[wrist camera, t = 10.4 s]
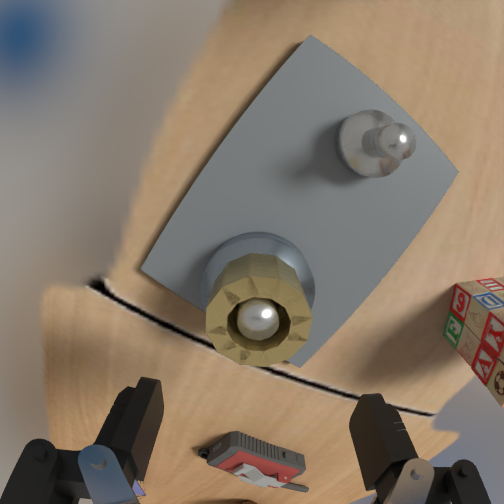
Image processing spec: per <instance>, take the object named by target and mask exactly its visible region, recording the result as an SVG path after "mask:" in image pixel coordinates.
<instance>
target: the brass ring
mask: <svg viewBox="0 0 504 504" xmlns="http://www.w3.org/2000/svg"><path fill="white" fill-rule="evenodd" d="M252 297H258V298H269V299H272V300H274V301H275V302H277V303H279V304H280V305H281V306H280V308H279V309H278V317H279V327H278V329H277V331H276V332H275V333H274V334H273V335H272V336H271V337H269V338H267V339H264V340H253V339H249V338H247V337H245V336H244V335H243V334H242V333H241V332H240V330H239V328H238V324H237V321H238V310H237V309H236V307H235V306H236V304H237V303H240V302H242V301H245V300H247V299H250V298H252ZM312 319H313V316H312V313H311V310H310V307H309V304H308V301H307V299H306V296H305V293H304V290H303V288H302V286H301V283H300V281H299V279H298V276H297V274H296V271H295V269H294V268H293V267H291V266H290V265H288V264H287V263H286V262H284V261H283V260H281V259H280V258H278V257H277V256H276V255H268V254H258V253H249V254H247V255H244V256H242V257H239V258H237V259H235V260H232V261H230V262H228V263H227V265H226V266H225V268H224V269H223V270H222V272H221V273H220V274H219V276H218V277H217V278H216V280H215V282H214V285H213V288H212V291H211V294H210V297H209V301H208V304H207V307H206V330H205V332H206V334H207V335H208V337H209V339H210V340H211V342H212V343H213V345H214V347H215V348H216V350H217V351H218V353H220V354H222V355H224V356H225V357H227V358H229V359H231V360H233V361H234V362H236V363H238V364H239V365H249V366H262V367H267V366H270V365H273V364H276V363H278V362H281V361H284V360H287V359H290V358H291V357H292V356H293V355H294V354H295V353H296V352H297V351H298V350H299V349H300V348H301V347H302V346H303V345H304V344H305V343H306V342H307V341H308V336H309V332H310V328H311V323H312Z"/></svg>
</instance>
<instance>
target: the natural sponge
mask: <svg viewBox="0 0 504 504" xmlns="http://www.w3.org/2000/svg"><path fill="white" fill-rule="evenodd" d="M241 504H257V503H254V502H251V501H246V502H243V503H241Z"/></svg>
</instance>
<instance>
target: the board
mask: <svg viewBox="0 0 504 504" xmlns="http://www.w3.org/2000/svg"><path fill="white" fill-rule="evenodd" d="M370 109H371V110H378V111H381V112H384V113H386V114H387V115H389V116H390V117H391V118H393V119H394V120H395V122H396V123H402V124H405V125H407V126H408V127H409V128H410V129H411V130H412V131H413V133H414V135H415V138H416V148H415V151H414V153H413V154H412V155H411V156H410V157H409V158H406V159H403V160H402V162H401V164H400V166H399V167H398V168H397V169H396V170H395V171H394V172H393V173H391V174H390V175H388V176H385V177H380V178H374V177H368V176H362V175H358V174H355V173H353V172H351V171H350V170H348V169H347V168H346V167H345V166H344V165H343V164H342V163H341V161H340V159H339V158H338V156H337V153H336V149H335V134H336V131H337V129H338V127H339V125H340V124H341V122H342V121H343V120H344V119H346V118H347V117H349V116H351V115H353V114H356V113H358V112H360V111H363V110H370ZM458 173H459V171H458V170H457V169H456V167H455V166H454V165H453V164H452V162H451V161H450V160H449V159H448V157H447V156H446V155H445V154H444V153H443V151H442V150H441V149H440V148H439V147H438V146H437V144H436V143H435V142H434V141H433V140H432V139H431V138H430V137H429V135H428V134H427V133H426V132H425V131H424V130H423V129H422V128H421V127H420V126H419V125H418V124H417V123H416V122H415V120H414V119H413V118H412V117H411V116H410V115H409V114H408V113H407V112H406V111H405V110H404V109H403V108H402V107H401V106H399V105H398V104H397V103H396V102H395V101H394V100H393V99H392V98H391V97H390V96H389V95H388V94H387V93H386V92H384V91H383V90H382V89H381V88H380V87H379V86H378V85H377V84H375V83H374V82H373V81H372V80H371V79H370V78H368V77H367V76H366V75H365V74H364V73H362V72H361V71H360V70H359V69H357V68H356V67H355V66H354V65H352V64H351V63H350V62H348V61H347V60H346V59H345V58H343V57H342V56H341V55H339V54H338V53H336V52H335V51H334V50H332V49H331V48H330V47H328V46H327V45H325V44H324V43H322V42H321V41H319V40H318V39H317V38H315V37H314V36H312V35H309V36H308V37H307V38H306V39H305V41H304V42H303V43H302V44H301V45H300V46H299V47H298V48H297V49H296V51H295V52H294V53H293V54H292V55H291V56H290V57H289V59H288V60H287V61H286V62H285V63H284V64H283V66H282V67H281V68H280V69H279V70H278V71H277V73H276V74H275V75H274V76H273V77H272V79H271V80H270V81H269V82H268V83H267V85H266V86H265V87H264V88H263V90H262V91H261V92H260V93H259V95H258V96H257V97H256V98H255V100H254V101H253V102H252V103H251V105H250V106H249V107H248V109H247V110H246V111H245V112H244V114H243V115H242V116H241V118H240V119H239V120H238V122H237V123H236V124H235V126H234V127H233V128H232V130H231V131H230V132H229V134H228V135H227V136H226V138H225V139H224V140H223V142H222V143H221V145H220V146H219V147H218V149H217V150H216V152H215V153H214V154H213V156H212V157H211V159H210V160H209V162H208V163H207V164H206V166H205V167H204V169H203V170H202V172H201V173H200V175H199V176H198V178H197V179H196V180H195V182H194V183H193V185H192V186H191V188H190V189H189V191H188V192H187V194H186V196H185V197H184V199H183V200H182V202H181V203H180V205H179V206H178V208H177V209H176V211H175V213H174V214H173V216H172V217H171V219H170V221H169V222H168V224H167V225H166V227H165V229H164V230H163V232H162V233H161V235H160V237H159V238H158V240H157V242H156V243H155V245H154V247H153V248H152V250H151V252H150V254H149V255H148V257H147V259H146V260H145V262H144V264H143V266H142V267H141V270H142V271H143V272H145V273H146V274H148V275H149V276H151V277H152V278H153V279H155V280H156V281H158V282H159V283H161V284H162V285H164V286H165V287H167V288H168V289H170V290H171V291H173V292H174V293H176V294H177V295H179V296H180V297H182V298H183V299H185V300H186V301H188V302H189V303H191V304H192V305H194V306H195V307H197V308H199V309H200V310H202V311H203V312H205V311H204V309H203V306H202V303H201V297H200V285H201V280H202V276H203V273H204V271H205V269H206V266H207V264H208V262H209V260H210V258H211V256H212V255H213V253H214V252H215V251H216V250H217V248H218V247H219V246H221V245H222V244H223V243H224V242H226V241H227V240H229V239H230V238H232V237H234V236H237V235H240V234H243V233H247V232H268V233H272V234H276V235H279V236H281V237H283V238H285V239H287V240H288V241H290V242H291V243H292V244H293V245H295V246H296V247H297V248H298V249H299V251H300V252H301V253H302V255H303V256H304V258H305V260H306V262H307V264H308V266H309V268H310V270H311V272H312V275H313V278H314V283H315V298H314V303H313V306H312V309H311V313H312V316H313V319H312V323H311V328H310V332H309V336H308V341H307V342H306V343H305V344H304V345H303V346H302V347H301V348H300V349H299V350H298V351H297V352H296V353H295V354H294V355H293V356H292V357H291V358H290V359H287V360H286V361H288V362H290V363H292V364H293V365H295V366H297V367H299V368H300V367H301V366H303V365H304V364H305V363H306V362H307V361H308V360H309V359H310V358H311V357H312V356H313V355H314V354H315V353H316V352H317V351H318V350H319V349H320V348H321V347H322V346H323V345H324V344H325V343H326V342H327V341H328V339H329V338H330V337H331V336H332V335H333V334H334V333H335V332H336V331H337V330H338V329H339V328H340V327H341V326H342V325H343V324H344V323H345V321H346V320H347V319H348V318H349V317H350V316H351V315H352V314H353V313H354V312H355V310H356V309H357V308H358V307H359V306H360V305H361V304H362V303H363V301H364V300H365V299H366V298H367V297H368V296H369V294H370V293H371V292H372V291H373V290H374V289H375V287H376V286H377V285H378V284H379V283H380V281H381V280H382V279H383V278H384V277H385V275H386V274H387V273H388V272H389V270H390V269H391V268H392V267H393V265H394V264H395V263H396V262H397V260H398V259H399V258H400V256H401V255H402V254H403V253H404V251H405V250H406V249H407V247H408V246H409V245H410V243H411V242H412V241H413V239H414V238H415V237H416V235H417V234H418V232H419V231H420V230H421V228H422V227H423V226H424V224H425V223H426V221H427V220H428V218H429V217H430V216H431V214H432V213H433V211H434V210H435V208H436V207H437V205H438V204H439V202H440V201H441V199H442V198H443V196H444V195H445V193H446V192H447V190H448V189H449V187H450V185H451V184H452V182H453V181H454V179H455V177H456V176H457V174H458Z"/></svg>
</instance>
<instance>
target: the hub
mask: <svg viewBox="0 0 504 504" xmlns="http://www.w3.org/2000/svg"><path fill="white" fill-rule="evenodd" d="M249 253H258V254H268V255H276V256H277V257H278V258H280V259H281V260H283V261H284V262H286V263H287V264H288V265H290V266H291V267H293V268H294V269H295V271H296V274H297V276H298V279H299V281H300V283H301V286H302V288H303V290H304V293H305V296H306V299H307V301H308V304H309V307H310V310H311V309H312V306H313V303H314V298H315V283H314V278H313V275H312V272H311V270H310V268H309V266H308V264H307V262H306V260H305V258H304V256H303V255H302V253H301V252H300V251H299V249H298V248H297V247H296V246H295V245H293V244H292V243H291V242H290V241H288V240H287V239H285V238H283V237H281V236H279V235H276V234H272V233H268V232H247V233H243V234H240V235H237V236H234V237H232V238H230V239H229V240H227V241H226V242H224V243H223V244H222V245H221V246H219V247H218V248H217V250H216V251H215V252H214V253H213V255H212V256H211V258H210V260H209V262H208V264H207V266H206V269H205V271H204V273H203V276H202V280H201V285H200V297H201V303H202V306H203V309H204V311H205V313H206V307H207V304H208V301H209V297H210V294H211V291H212V288H213V285H214V282H215V280H216V278H217V277H218V276H219V274H220V273H221V272H222V270H223V269H224V268H225V266H226V265H227V263H228V262H230V261H232V260H235V259H237V258H239V257H242V256H244V255H247V254H249ZM280 306H281V305H280V304H279V303H277V302H275V301H274V300H272V299H269V298H258V297H252V298H250V299H247V300H245V301H242V302H240V303H237V304H236V306H235V307H236V309H237V310H238V321H237V324H238V328H239V330H240V332H241V333H242V334H243V335H244V336H245V337H247V338H249V339H253V340H264V339H267V338H269V337H271V336H272V335H273V334H274V333H275V332H276V331H277V329H278V327H279V317H278V309H279V308H280Z"/></svg>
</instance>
